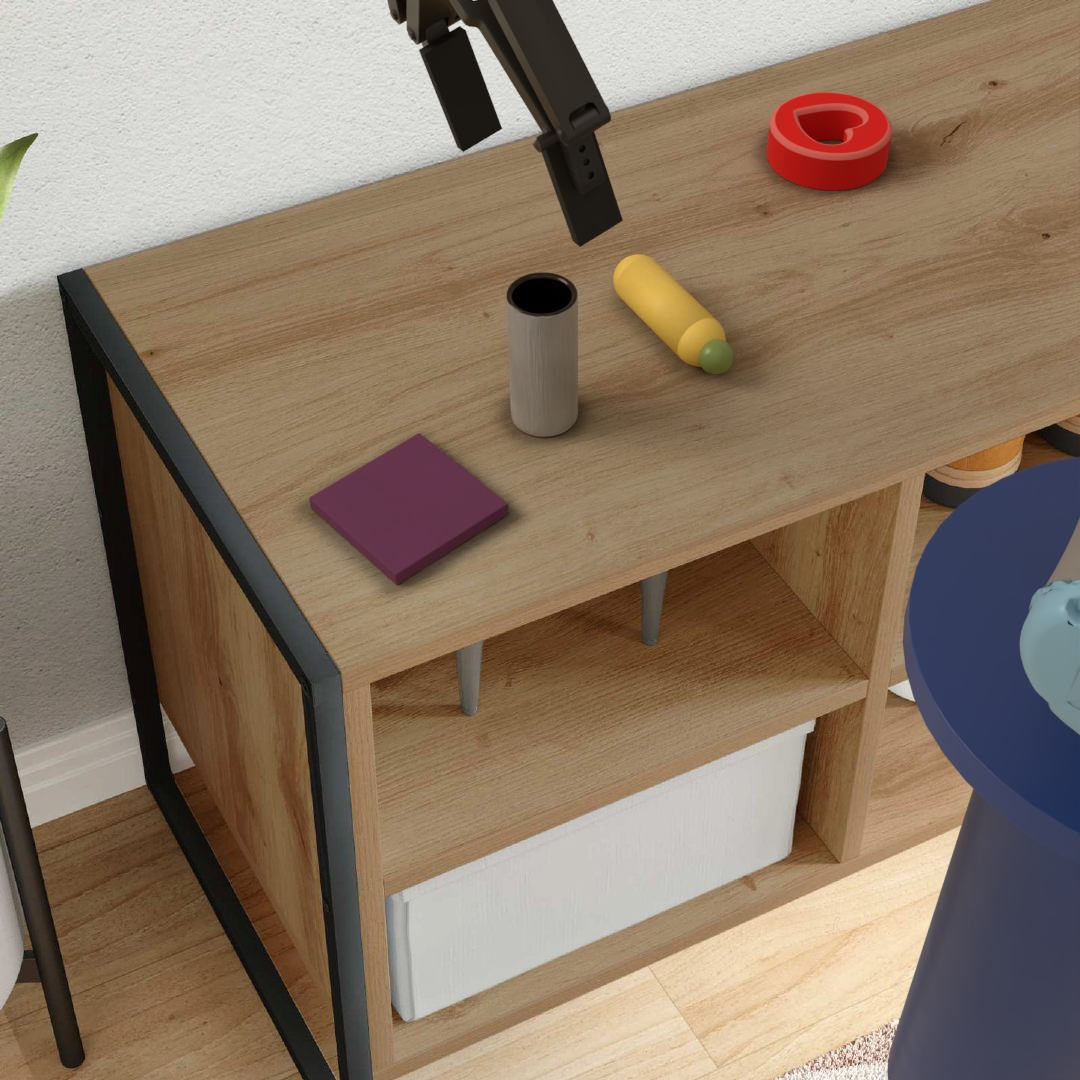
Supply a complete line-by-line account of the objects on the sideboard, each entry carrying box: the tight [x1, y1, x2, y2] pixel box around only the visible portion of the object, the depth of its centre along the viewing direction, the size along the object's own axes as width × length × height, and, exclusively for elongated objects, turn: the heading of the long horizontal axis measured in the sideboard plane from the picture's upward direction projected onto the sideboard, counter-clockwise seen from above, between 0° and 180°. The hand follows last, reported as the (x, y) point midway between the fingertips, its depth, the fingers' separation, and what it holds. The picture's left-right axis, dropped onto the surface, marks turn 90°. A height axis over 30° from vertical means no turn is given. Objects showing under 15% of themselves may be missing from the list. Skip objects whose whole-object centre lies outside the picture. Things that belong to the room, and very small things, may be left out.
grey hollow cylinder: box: [505, 271, 579, 438], centre depth 103 cm, size 4×4×10 cm
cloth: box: [308, 432, 509, 586], centre depth 100 cm, size 9×9×1 cm
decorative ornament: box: [766, 91, 893, 191], centre depth 126 cm, size 10×10×3 cm
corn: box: [612, 253, 734, 375], centre depth 111 cm, size 13×4×4 cm, turn 30°
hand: (535, 182), depth 87 cm, fingers open, 13 cm apart
